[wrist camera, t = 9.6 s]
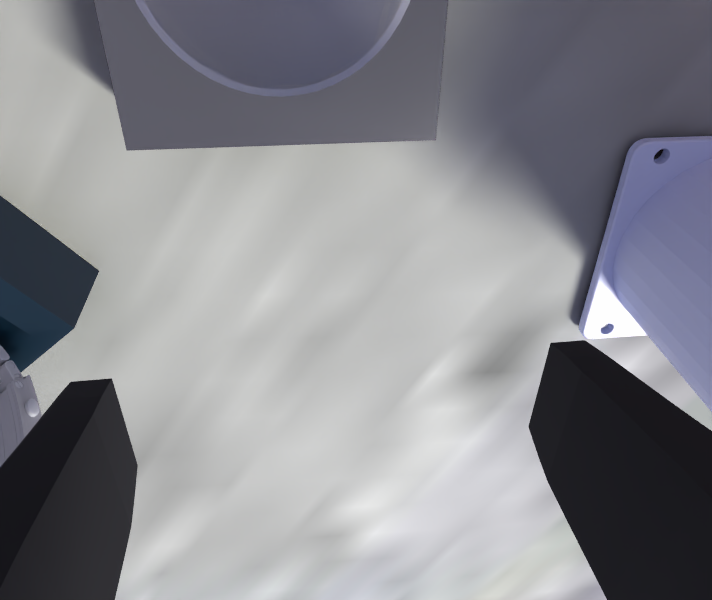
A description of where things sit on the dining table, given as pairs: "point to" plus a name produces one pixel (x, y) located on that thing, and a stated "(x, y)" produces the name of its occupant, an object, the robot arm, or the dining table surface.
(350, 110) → the fuse holder
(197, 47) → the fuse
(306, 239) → the dining table surface
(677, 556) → the robot arm
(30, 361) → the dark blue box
